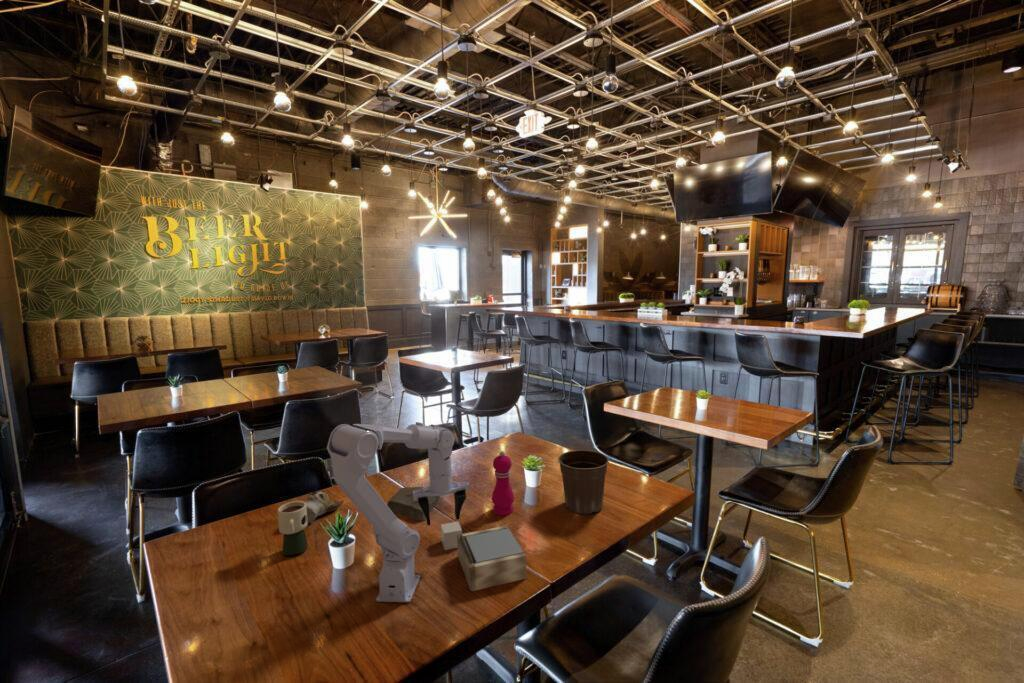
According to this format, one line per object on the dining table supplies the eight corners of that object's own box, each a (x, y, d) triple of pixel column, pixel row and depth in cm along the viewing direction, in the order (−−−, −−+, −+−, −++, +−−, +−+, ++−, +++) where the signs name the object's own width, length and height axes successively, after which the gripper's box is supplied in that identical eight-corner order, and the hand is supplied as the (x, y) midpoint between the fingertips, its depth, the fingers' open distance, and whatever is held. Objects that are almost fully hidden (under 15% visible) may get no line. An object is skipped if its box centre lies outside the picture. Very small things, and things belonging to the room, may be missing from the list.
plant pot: (555, 515, 141) (554, 466, 139) (561, 492, 157) (561, 448, 155) (607, 520, 137) (608, 470, 135) (609, 497, 153) (609, 451, 151)
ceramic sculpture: (284, 497, 138) (318, 480, 152) (284, 525, 138) (318, 505, 153) (313, 502, 135) (345, 484, 149) (313, 530, 135) (345, 509, 150)
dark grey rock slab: (423, 522, 139) (423, 510, 138) (381, 518, 142) (380, 505, 142) (444, 498, 155) (443, 486, 154) (405, 494, 158) (404, 483, 158)
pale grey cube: (444, 550, 123) (443, 533, 123) (441, 540, 128) (440, 524, 128) (462, 546, 125) (461, 530, 124) (458, 537, 130) (458, 521, 129)
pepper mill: (489, 508, 147) (487, 449, 144) (509, 503, 149) (508, 446, 147) (496, 518, 140) (494, 456, 138) (517, 513, 143) (516, 453, 140)
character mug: (308, 558, 121) (305, 513, 119) (279, 565, 118) (275, 518, 117) (310, 538, 131) (307, 496, 129) (283, 544, 128) (279, 500, 127)
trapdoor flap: (476, 566, 108) (476, 562, 108) (465, 540, 119) (465, 536, 119) (523, 555, 112) (523, 552, 111) (508, 531, 123) (508, 528, 123)
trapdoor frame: (470, 591, 106) (470, 564, 105) (457, 556, 121) (457, 532, 120) (526, 578, 111) (525, 552, 110) (507, 545, 125) (506, 522, 124)
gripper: (464, 461, 123) (466, 508, 125) (410, 470, 119) (413, 518, 120) (470, 471, 116) (472, 520, 118) (413, 481, 112) (416, 532, 114)
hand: (443, 520), depth 119 cm, fingers open, 7 cm apart
